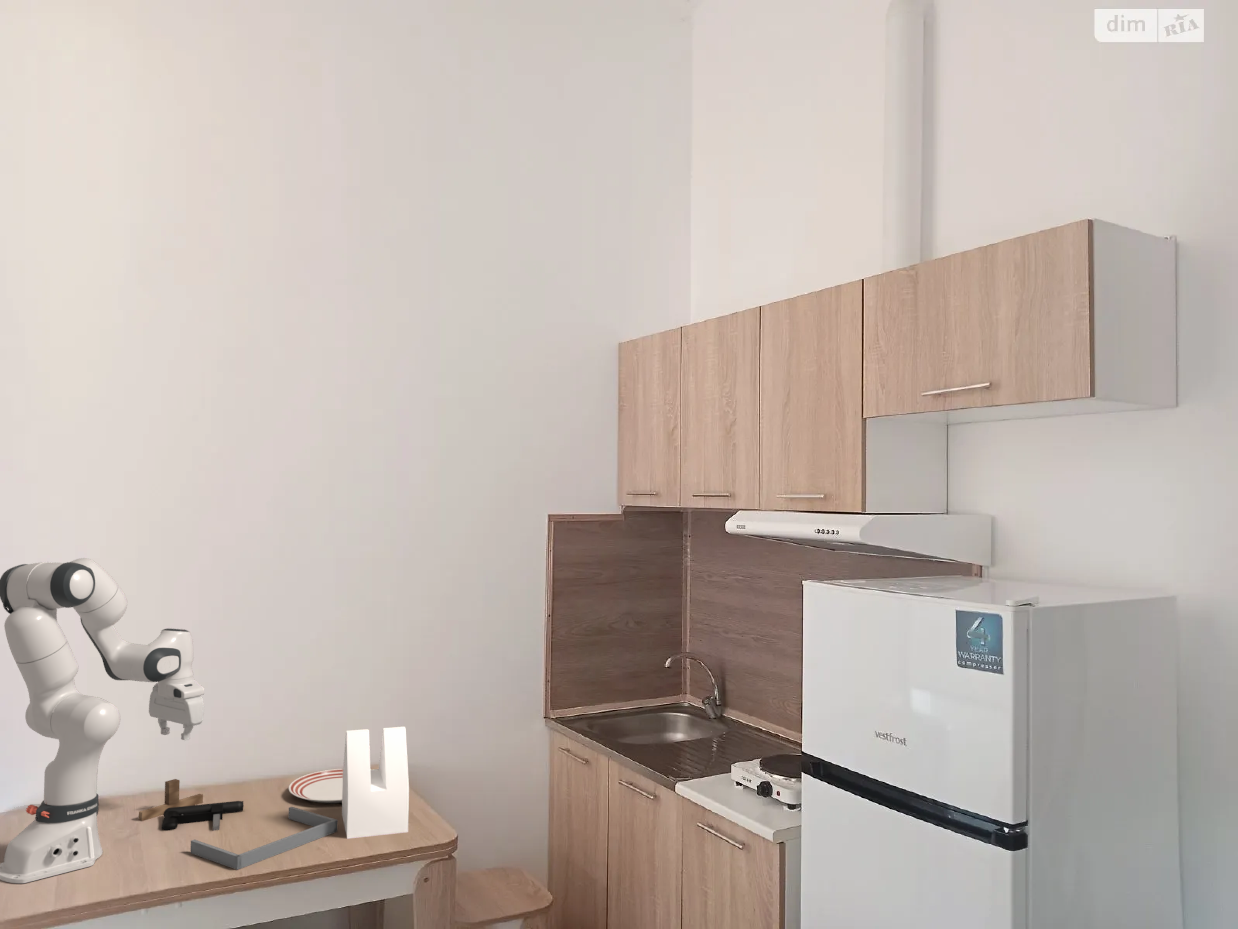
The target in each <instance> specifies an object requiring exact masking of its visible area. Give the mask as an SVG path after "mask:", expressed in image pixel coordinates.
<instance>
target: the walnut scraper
mask: <svg viewBox="0 0 1238 929" xmlns="http://www.w3.org/2000/svg"><path fill="white" fill-rule="evenodd" d="M180 783H181V782H180V779H177V778H174V779H170V780H166V781H164V804H161V805H160V804H159V805H156V806H153V807H150V808H146V809H143V810H140V811H138V821H140V822H144V821H148V820H150V819H151V820H152V819H154V818H157V817H160V816H164V815H163V814H164V811H165V810H166V809H167V808H172V807H182V806H192V805H201V804H203V803H204V795H203V793H197V794H193V795H190V796H188V797H187V796H186V797H184V798H180Z"/></svg>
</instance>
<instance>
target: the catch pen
mask: <svg viewBox="0 0 1238 929" xmlns="http://www.w3.org/2000/svg"><path fill="white" fill-rule="evenodd" d="M288 820H292V821H295V822H297V823H301V824H304V825H307V826H311V827H310V828H307V829H305V830H301V831H300V832H296V833H294V834H291V835H289V836H285V837H283V838H280V839H277V840H274V841H272V842H269V843H266V844H264V845H261V846H259V847H256V848H252V849H250V850H248V851H244V852H242V853H240V854H238V853H234V852H232V851H230V850H226V849H223V848H221V847H218V846H214V845H212V844H209V843H205V842H202V841H200V840H197V839H191V840H190V854H191V855H195V856H197V857H201V858H202V859H206V860H209V861H212V862H214V863H217V864H220V865H222V866H226V867H229V868H231V869H233V870H241V869H243V868H246V867H248V866H252V865H254V864H257V863H259V862H262V861H264V860H267V859H270V858H272V857H274V856H276V855H280V854H282V853H285V852H287V851H290V850H293V849H296V848H297V847H300V846H303V845H306V844H308V843H310V842H313V841H317V840H319V839H321V838H324V837H327V836H329V835H331V834H334V833H335V834H336V833H338V826H339V825H338V819H336V818H333V817H328V816H326V815H322V814H318V813H315V812H312V811H309V810H308V811H307V810H305V809H302V808H298V807H295V806H290V807H288Z"/></svg>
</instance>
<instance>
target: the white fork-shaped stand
mask: <svg viewBox="0 0 1238 929" xmlns="http://www.w3.org/2000/svg"><path fill="white" fill-rule="evenodd" d="M370 742H371V741H370V729H368V728H366V729H365V728H364V729H363V728H362V729H351V730H345V743H344V752H343V753H344V754H343V755H344V756H343V766H342V767H343V768H342V769H343V788H342V803H341V816H342V820H343V821H342V822H343V826H344V831H345V834H346V839H347V840H348V839H355V838H356V839H357V838H366V837H375V836H384V835H394V834H402V833H409V812H410V810H409V809H410V808H409V806H410V805H409V803H410V802H409V801H410V784H409V781H410V780H409V764H408V763H409V762H408V746H407V745H408V744H407V729H406V726H395V727H383V728H382V735H381V745H380V752H379V753H380V754H379V762H378V768H376V769H371V750H370V749H371V747H370V746H371V744H370Z"/></svg>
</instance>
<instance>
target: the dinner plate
mask: <svg viewBox="0 0 1238 929" xmlns="http://www.w3.org/2000/svg"><path fill="white" fill-rule="evenodd" d="M342 788H343V768H335V769H334V768H333V769H332V768H331V769H326V770H321V771H320V770H319V771H315V772H311V773H308V774H305V775H302V776H300V777H297V778H296V779H294V780H293V781H292V782H290V784H289V785H288V791H289V793H290V794H291V795H293V796H294V797H297V798H299V799H302V800H305V801H309V802H314V803H319V804H340V803H341V804H342Z"/></svg>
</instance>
